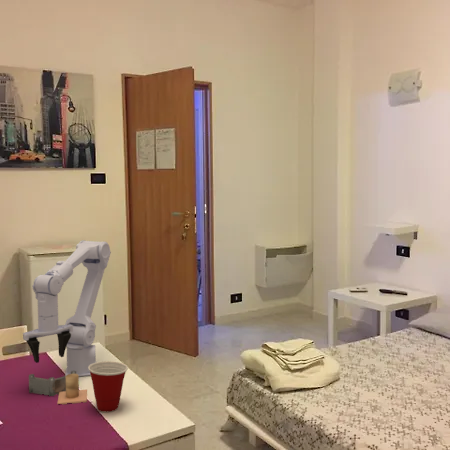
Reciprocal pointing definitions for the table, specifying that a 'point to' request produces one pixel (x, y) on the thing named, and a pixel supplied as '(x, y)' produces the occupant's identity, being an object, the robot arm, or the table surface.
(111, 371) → the plastic cup
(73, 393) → the oak dowel
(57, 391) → the bent rail
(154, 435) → the table surface
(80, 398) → the coaster
